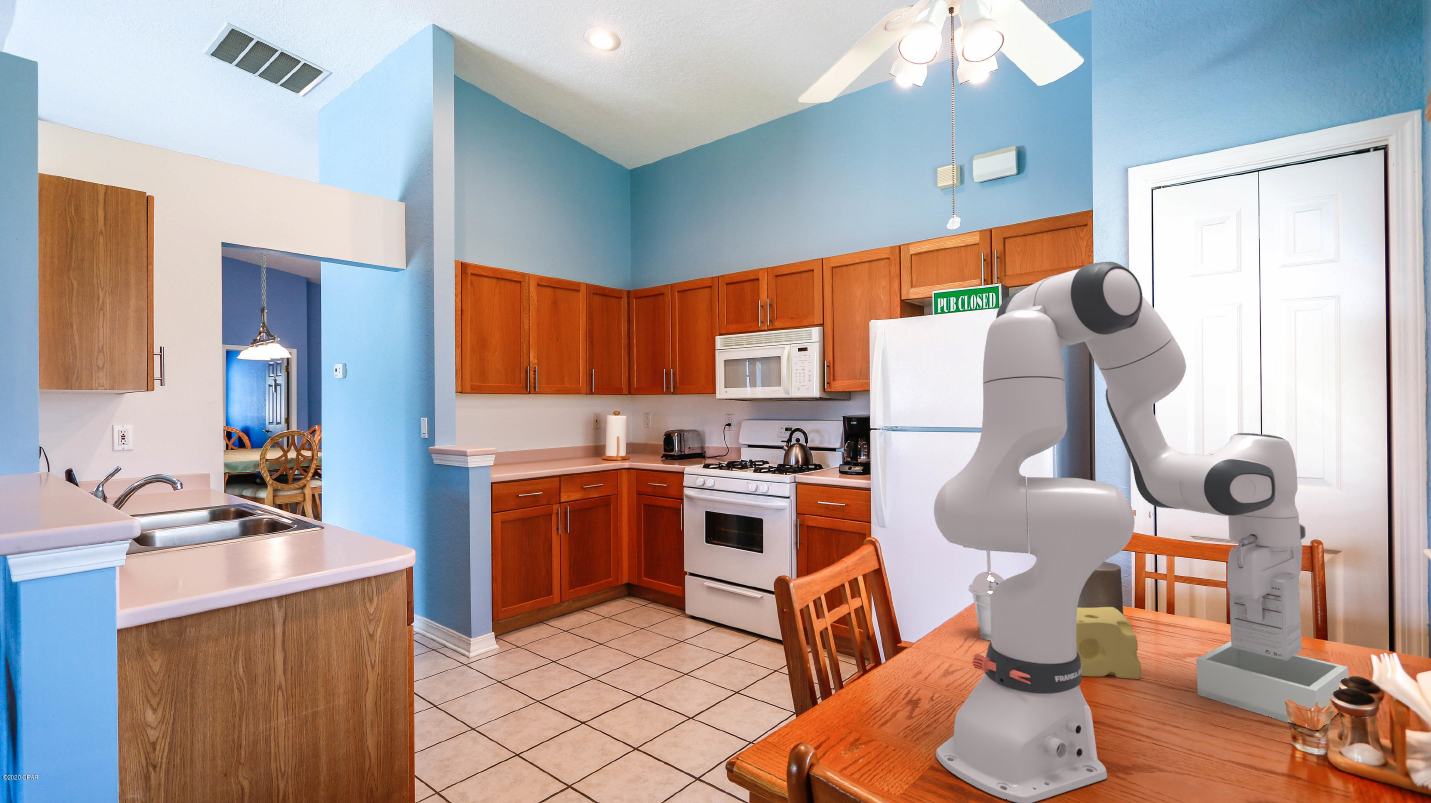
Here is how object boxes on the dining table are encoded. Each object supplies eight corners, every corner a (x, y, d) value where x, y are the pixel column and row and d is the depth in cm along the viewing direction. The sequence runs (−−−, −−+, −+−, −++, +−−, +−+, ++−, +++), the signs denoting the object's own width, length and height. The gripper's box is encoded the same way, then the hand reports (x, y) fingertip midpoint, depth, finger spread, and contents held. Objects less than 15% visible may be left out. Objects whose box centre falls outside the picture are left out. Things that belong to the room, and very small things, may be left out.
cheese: (1141, 680, 112) (1139, 623, 112) (1075, 677, 114) (1073, 621, 114) (1116, 657, 122) (1114, 606, 122) (1056, 655, 124) (1054, 604, 124)
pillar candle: (1135, 632, 135) (1132, 561, 136) (1097, 636, 133) (1093, 565, 134) (1099, 618, 145) (1095, 552, 145) (1062, 622, 143) (1059, 556, 143)
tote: (1317, 731, 93) (1315, 690, 93) (1197, 694, 106) (1196, 658, 106) (1349, 704, 101) (1348, 666, 101) (1234, 673, 114) (1233, 639, 114)
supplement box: (1246, 638, 109) (1244, 565, 109) (1303, 651, 103) (1301, 573, 103) (1229, 647, 105) (1227, 571, 105) (1287, 661, 99) (1284, 580, 99)
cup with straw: (1013, 646, 129) (1009, 548, 129) (965, 640, 133) (962, 545, 133) (1013, 632, 137) (1010, 540, 137) (968, 627, 141) (965, 538, 141)
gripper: (1263, 543, 96) (1266, 634, 96) (1309, 526, 107) (1312, 607, 106) (1213, 536, 101) (1216, 622, 101) (1262, 521, 112) (1265, 598, 112)
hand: (1266, 615), depth 104 cm, fingers closed on supplement box, 7 cm apart
